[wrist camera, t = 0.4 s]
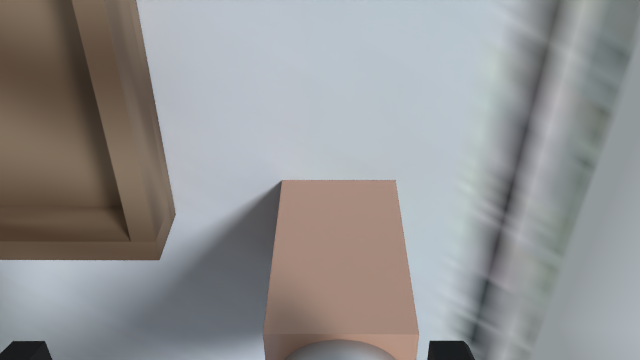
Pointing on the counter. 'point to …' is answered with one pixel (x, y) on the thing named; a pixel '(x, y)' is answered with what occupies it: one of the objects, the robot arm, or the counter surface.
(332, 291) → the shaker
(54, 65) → the tray
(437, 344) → the robot arm
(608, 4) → the counter surface
